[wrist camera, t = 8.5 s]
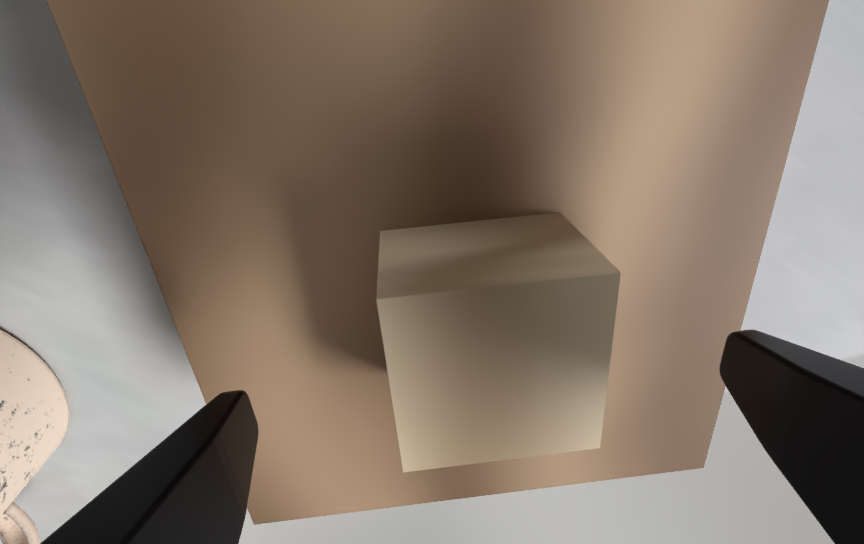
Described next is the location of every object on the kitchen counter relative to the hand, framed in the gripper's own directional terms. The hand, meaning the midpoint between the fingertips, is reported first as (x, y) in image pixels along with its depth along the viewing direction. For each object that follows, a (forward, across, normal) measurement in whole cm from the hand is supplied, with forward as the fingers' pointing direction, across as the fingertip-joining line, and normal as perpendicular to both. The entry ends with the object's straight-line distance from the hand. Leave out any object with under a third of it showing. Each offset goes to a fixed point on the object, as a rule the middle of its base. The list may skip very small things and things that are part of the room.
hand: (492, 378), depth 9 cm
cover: (+4, 0, 0) cm, 4 cm away
